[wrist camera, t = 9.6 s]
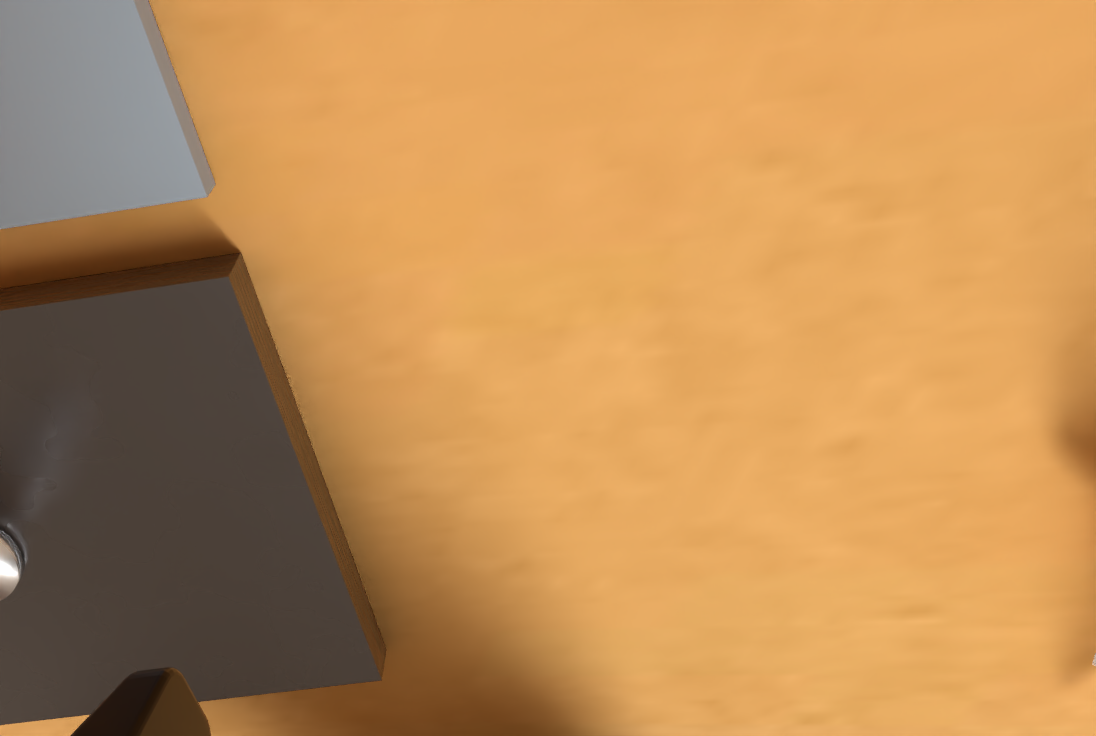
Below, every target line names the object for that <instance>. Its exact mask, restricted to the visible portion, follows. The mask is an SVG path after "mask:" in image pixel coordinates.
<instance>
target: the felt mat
mask: <svg viewBox="0 0 1096 736" xmlns="http://www.w3.org/2000/svg"><path fill="white" fill-rule="evenodd" d="M214 186H215V181H214V178H213V176H212V173H211V170H210V167H209V165H208V162H207V159H206V157H205V154H204V151H203V148H202V146H201V143H200V140H199V137H198V135H197V132H196V129H195V127H194V124H193V121H192V118H191V116H190V113H189V110H188V107H187V105H186V102H185V99H184V97H183V94H182V91H181V88H180V86H179V83H178V80H177V77H176V75H175V72H174V69H173V67H172V64H171V61H170V58H169V56H168V53H167V50H166V47H165V45H164V42H163V39H162V37H161V34H160V31H159V28H158V26H157V23H156V20H155V17H154V15H153V12H152V9H151V7H150V4H149V1H148V0H0V229H6V228H12V227H19V226H25V225H31V224H38V223H44V222H51V221H57V220H63V219H70V218H76V217H83V216H89V215H96V214H102V213H108V212H115V211H121V210H128V209H134V208H140V207H147V206H153V205H160V204H166V203H173V202H179V201H185V200H192V199H198V198H205V197H208V195H209V194H210V192H211V191H212V189H213V187H214Z"/></svg>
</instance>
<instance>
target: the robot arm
mask: <svg viewBox="0 0 1096 736" xmlns="http://www.w3.org/2000/svg"><path fill="white" fill-rule="evenodd" d="M71 736H211V733H210V727H209V723H208V720H207V718H206V716H205V714H204V712H203V710H202V709H201V707H200V705H199V703H198V701H197V700H196V698H195V696H194V694H193V692H192V691H191V689H190V687H189V685H188V683H187V682H186V680H185V678H184V676H183V675H182V673H181V672H180V671H178V670H177V669H175V668H172V667H165V668H157V669H149V670H141V671H137V672H134V673H132V674H130V675H129V676H128V677H126V678H125V679H124V680H123V681H122V682H121V683H120V684H119V685H118V686H117V687H116V688H115V689H114V690H113V692H112V693H111V694H110V695H109V696H108V697H107V698H106V699H105V700H104V701H103V702H102V703H101V704H100V705H99V706H98V707H97V708H96V709H95V710H94V712H93V713H92V714H91V715H90V716H89V717H88V718H87V719H86V720H85V721H84V722H83V723H82V724H81V725H80V726H79V727H78V728H77V729H76V730H75V731H74V733H73V734H72V735H71Z"/></svg>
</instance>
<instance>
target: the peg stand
mask: <svg viewBox="0 0 1096 736" xmlns="http://www.w3.org/2000/svg"><path fill="white" fill-rule="evenodd" d="M385 655H386V648H385V645H384V642H383V639H382V637H381V634H380V631H379V628H378V626H377V623H376V620H375V618H374V615H373V612H372V609H371V607H370V604H369V601H368V598H367V596H366V593H365V590H364V588H363V585H362V582H361V579H360V577H359V574H358V571H357V568H356V566H355V563H354V560H353V558H352V555H351V552H350V549H349V547H348V544H347V541H346V538H345V536H344V533H343V530H342V528H341V525H340V522H339V519H338V517H337V514H336V511H335V508H334V506H333V503H332V500H331V498H330V495H329V492H328V489H327V487H326V484H325V481H324V478H323V476H322V473H321V470H320V468H319V465H318V462H317V459H316V457H315V454H314V451H313V448H312V446H311V443H310V440H309V438H308V435H307V432H306V429H305V427H304V424H303V421H302V418H301V416H300V413H299V410H298V407H297V405H296V402H295V399H294V397H293V394H292V391H291V388H290V386H289V383H288V380H287V377H286V375H285V372H284V369H283V367H282V364H281V361H280V358H279V356H278V353H277V350H276V347H275V345H274V342H273V339H272V337H271V334H270V331H269V328H268V326H267V323H266V320H265V317H264V315H263V312H262V309H261V307H260V304H259V301H258V298H257V296H256V293H255V290H254V287H253V285H252V282H251V279H250V277H249V274H248V271H247V268H246V266H245V263H244V260H243V257H242V255H241V253H236V254H230V255H223V256H216V257H210V258H203V259H196V260H190V261H183V262H177V263H170V264H163V265H157V266H150V267H144V268H137V269H130V270H124V271H117V272H110V273H104V274H97V275H91V276H84V277H77V278H71V279H64V280H58V281H51V282H44V283H38V284H31V285H25V286H18V287H11V288H5V289H0V725H5V724H13V723H22V722H30V721H39V720H47V719H56V718H64V717H73V716H81V715H90V714H92V713H93V712H94V710H95V709H96V708H97V707H98V706H99V705H100V704H101V703H102V702H103V701H104V700H105V699H106V698H107V697H108V696H109V695H110V694H111V693H112V692H113V690H114V689H115V688H116V687H117V686H118V685H119V684H120V683H121V682H122V681H123V680H124V679H125V678H126V677H128V676H129V675H130V674H132V673H134V672H137V671H141V670H149V669H157V668H165V667H172V668H175V669H177V670H178V671H180V672H181V673H182V675H183V676H184V678H185V680H186V682H187V683H188V685H189V687H190V689H191V691H192V692H193V694H194V696H195V698H196V700H197V701H198V702H201V701H209V700H218V699H226V698H235V697H243V696H252V695H260V694H269V693H278V692H286V691H295V690H303V689H312V688H320V687H329V686H337V685H346V684H354V683H363V682H371V681H380V680H382V675H383V669H384V662H385Z"/></svg>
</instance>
